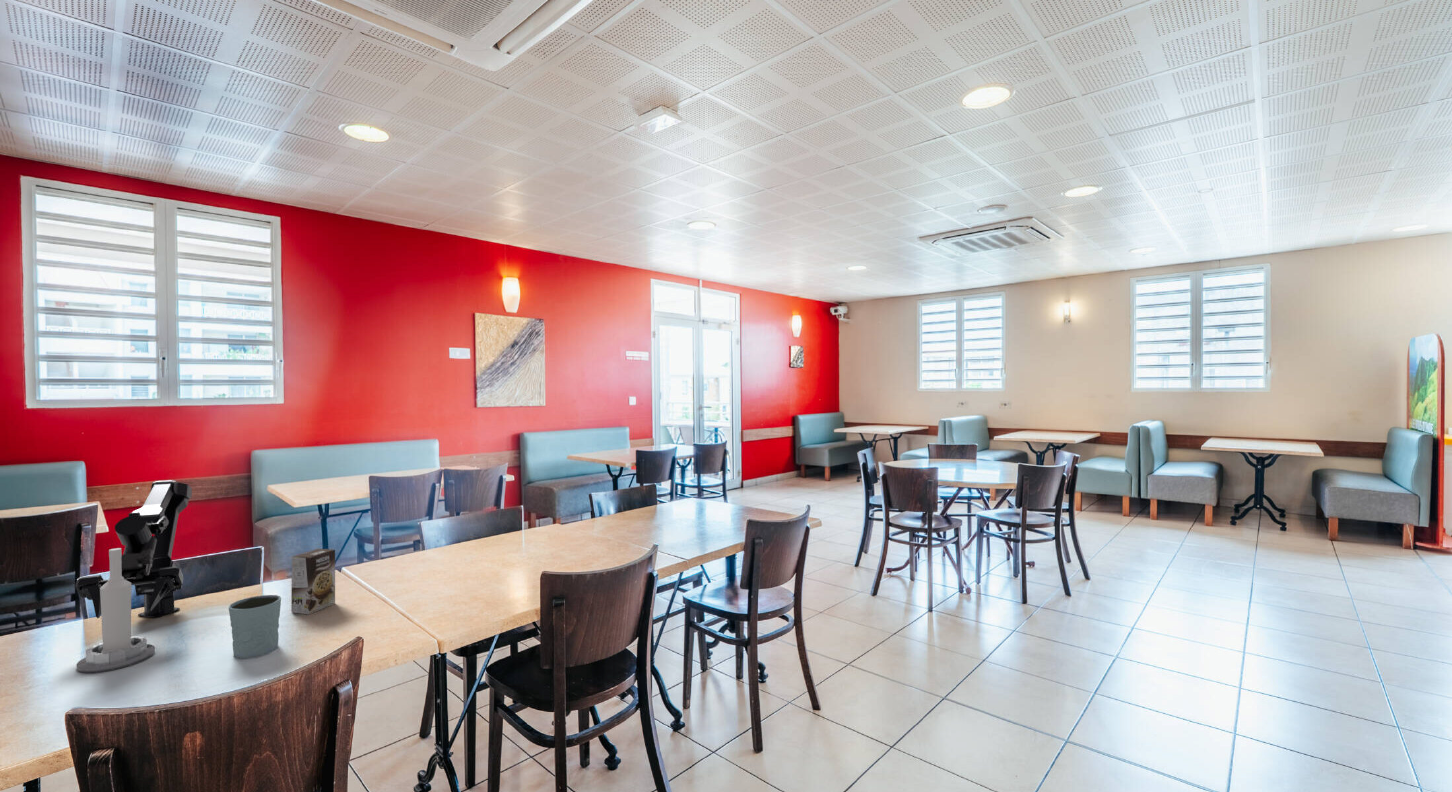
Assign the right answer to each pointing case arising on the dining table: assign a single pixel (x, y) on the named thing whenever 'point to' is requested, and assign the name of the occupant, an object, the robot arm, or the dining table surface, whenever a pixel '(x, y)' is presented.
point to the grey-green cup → (255, 625)
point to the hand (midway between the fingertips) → (124, 613)
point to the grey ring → (115, 657)
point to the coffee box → (313, 581)
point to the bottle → (116, 607)
